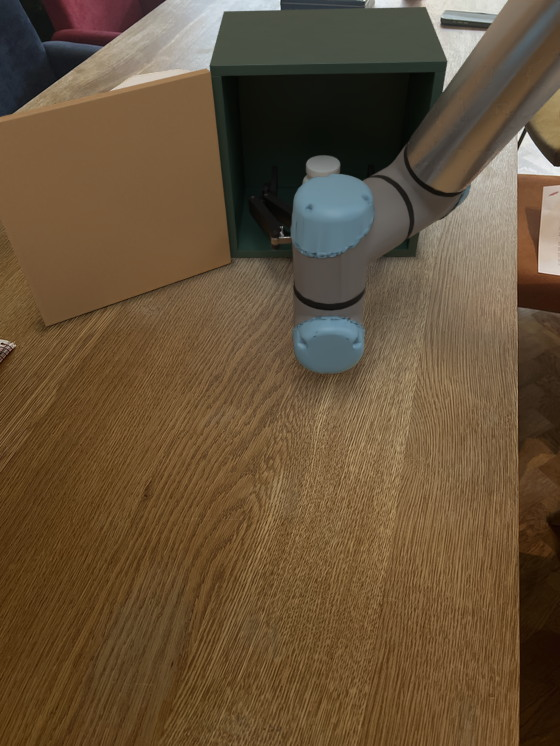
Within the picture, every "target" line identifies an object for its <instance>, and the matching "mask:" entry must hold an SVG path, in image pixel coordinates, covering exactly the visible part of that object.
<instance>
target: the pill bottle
mask: <svg viewBox="0 0 560 746" xmlns="http://www.w3.org/2000/svg"><path fill="white" fill-rule="evenodd" d="M306 173H307V175H306V176H305V177H304V179H303V183H302V184H304V183H305V182H306V181H308V180H310V179H312V178H314V177H327V176H328V175H329V174H339V173H340V162H339V160H338V159H336V158H334V157H332V156H326V155H319V156H315V157H312V158H310V159H309V160H308V161H307V163H306Z"/></svg>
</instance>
